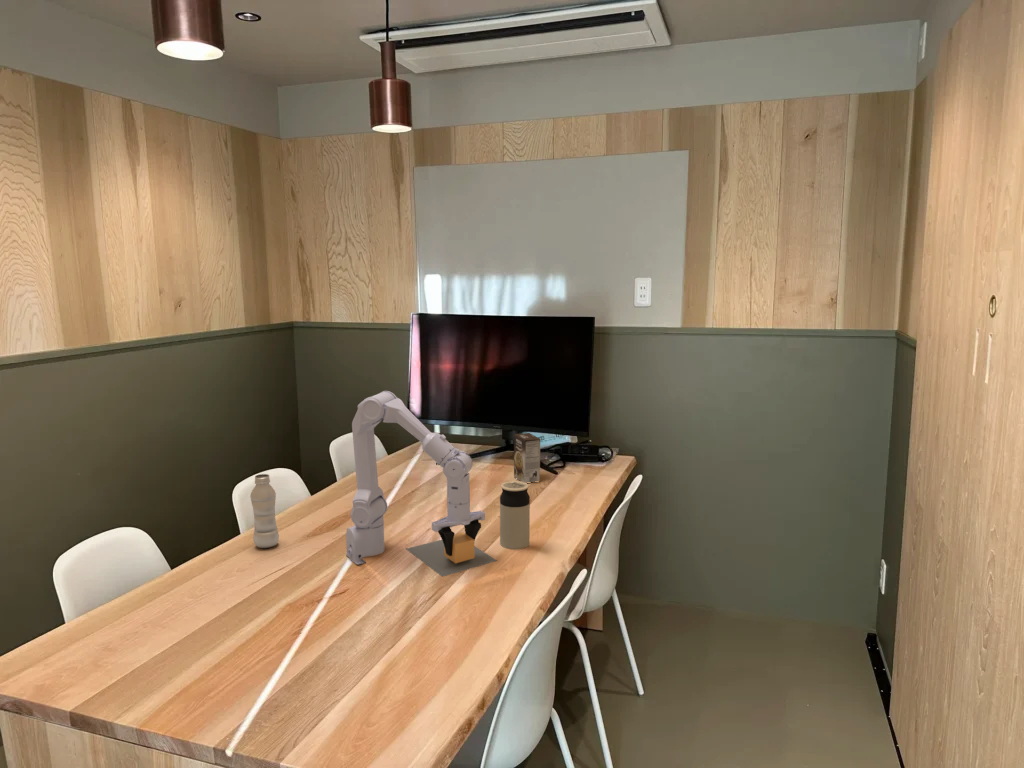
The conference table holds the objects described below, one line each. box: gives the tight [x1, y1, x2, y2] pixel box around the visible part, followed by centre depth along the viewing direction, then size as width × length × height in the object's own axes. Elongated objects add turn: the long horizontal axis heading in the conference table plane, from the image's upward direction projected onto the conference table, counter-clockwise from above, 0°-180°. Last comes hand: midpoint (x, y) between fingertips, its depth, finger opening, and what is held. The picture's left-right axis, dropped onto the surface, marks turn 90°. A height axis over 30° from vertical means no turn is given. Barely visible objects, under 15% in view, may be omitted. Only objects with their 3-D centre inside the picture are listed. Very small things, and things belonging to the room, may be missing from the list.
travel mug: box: [499, 480, 531, 550], centre depth 187 cm, size 8×8×18 cm
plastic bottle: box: [249, 473, 280, 549], centre depth 188 cm, size 6×7×20 cm
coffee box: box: [513, 432, 541, 483], centre depth 246 cm, size 9×6×16 cm
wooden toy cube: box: [444, 532, 475, 563], centre depth 176 cm, size 6×6×5 cm
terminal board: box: [405, 539, 498, 577], centre depth 180 cm, size 16×20×5 cm
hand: (459, 551), depth 177 cm, fingers closed on wooden toy cube, 5 cm apart
